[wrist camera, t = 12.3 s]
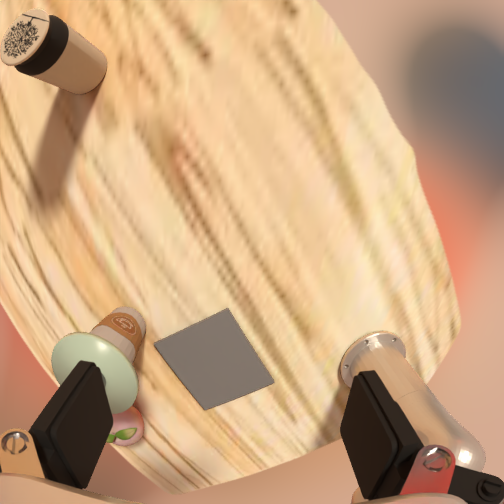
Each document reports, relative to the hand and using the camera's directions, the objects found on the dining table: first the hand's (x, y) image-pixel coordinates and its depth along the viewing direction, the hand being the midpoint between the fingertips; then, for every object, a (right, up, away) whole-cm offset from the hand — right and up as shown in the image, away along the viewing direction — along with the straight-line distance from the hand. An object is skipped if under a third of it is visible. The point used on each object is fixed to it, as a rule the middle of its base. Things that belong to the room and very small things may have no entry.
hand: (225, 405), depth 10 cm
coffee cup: (-19, -6, +38) cm, 43 cm away
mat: (-5, -13, +40) cm, 43 cm away
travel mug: (-25, +34, +28) cm, 51 cm away
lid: (-19, -10, +24) cm, 32 cm away
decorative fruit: (-23, -25, +43) cm, 55 cm away
